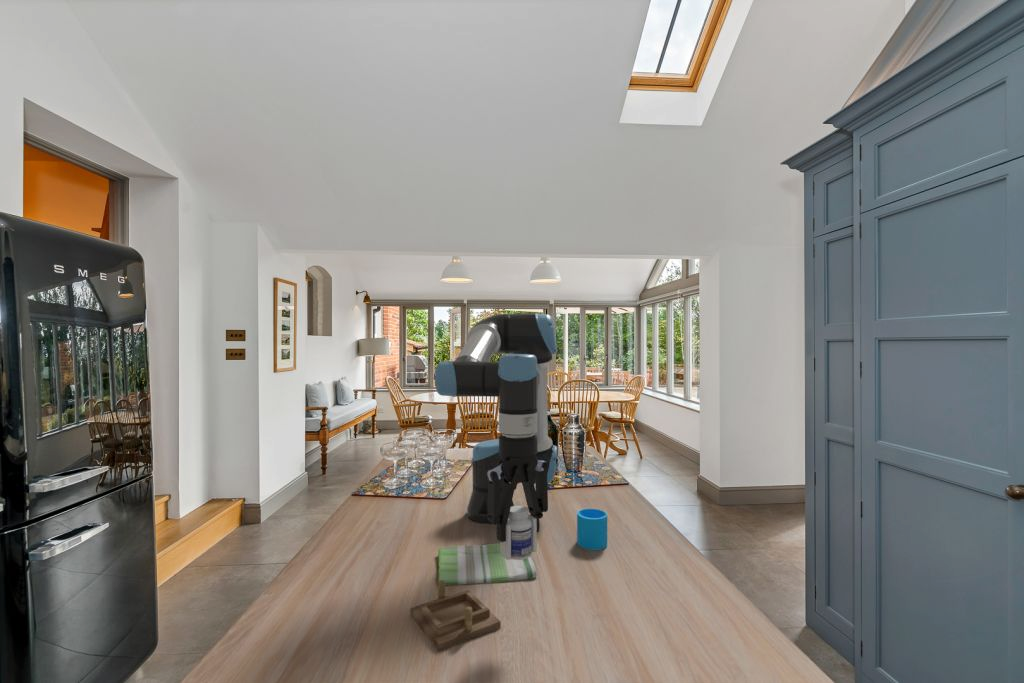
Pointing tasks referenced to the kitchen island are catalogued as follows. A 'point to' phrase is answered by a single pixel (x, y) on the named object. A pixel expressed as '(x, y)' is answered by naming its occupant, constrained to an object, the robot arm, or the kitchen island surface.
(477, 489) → the robot arm
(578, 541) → the mug
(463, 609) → the cradle
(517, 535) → the pill bottle
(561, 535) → the kitchen island surface
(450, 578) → the dish towel
